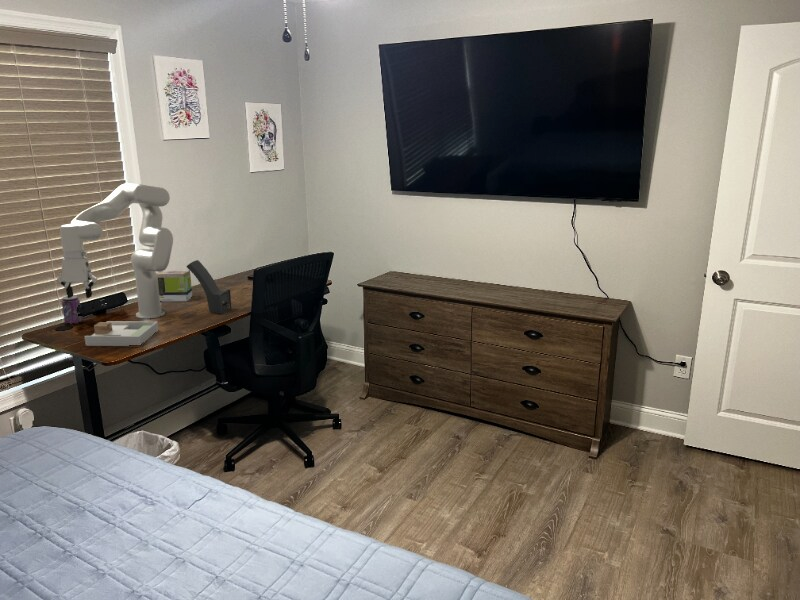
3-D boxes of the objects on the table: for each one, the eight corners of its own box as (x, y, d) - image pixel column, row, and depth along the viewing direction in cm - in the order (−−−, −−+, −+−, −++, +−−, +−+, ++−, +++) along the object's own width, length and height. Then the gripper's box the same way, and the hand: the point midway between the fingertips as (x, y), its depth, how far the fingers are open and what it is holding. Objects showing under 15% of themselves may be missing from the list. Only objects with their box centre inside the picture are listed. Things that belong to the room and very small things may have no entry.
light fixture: (199, 306, 300) (195, 258, 293) (232, 308, 297) (228, 260, 291) (188, 312, 290) (184, 263, 283) (222, 314, 287) (218, 265, 280)
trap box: (108, 329, 264) (107, 321, 263) (158, 330, 264) (157, 321, 263) (85, 345, 245) (84, 336, 244) (140, 346, 245) (139, 336, 244)
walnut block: (100, 330, 256) (99, 322, 255) (112, 330, 256) (111, 322, 255) (94, 333, 251) (93, 325, 250) (107, 333, 251) (106, 325, 251)
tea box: (192, 296, 318) (190, 269, 313) (187, 302, 308) (184, 273, 304) (164, 296, 317) (161, 269, 313) (157, 302, 307) (154, 273, 303)
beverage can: (62, 322, 273) (58, 297, 270) (78, 319, 278) (75, 294, 275) (68, 326, 269) (64, 300, 265) (85, 322, 274) (81, 297, 271)
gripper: (99, 253, 249) (105, 294, 253) (57, 252, 248) (63, 294, 253) (91, 256, 241) (96, 299, 246) (47, 256, 241) (53, 299, 246)
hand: (79, 296), depth 250 cm, fingers open, 6 cm apart
